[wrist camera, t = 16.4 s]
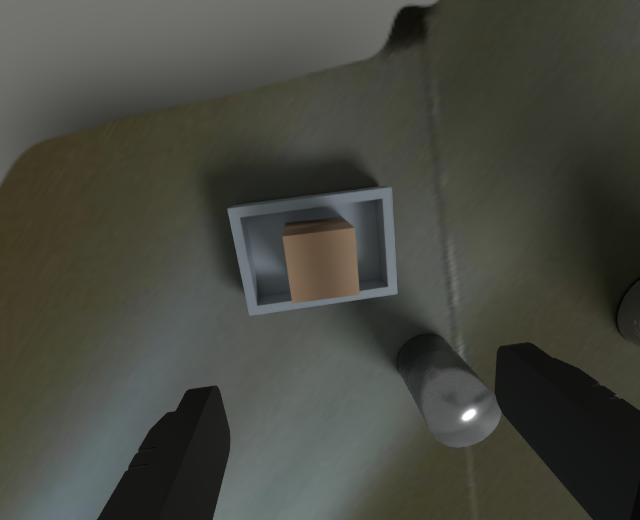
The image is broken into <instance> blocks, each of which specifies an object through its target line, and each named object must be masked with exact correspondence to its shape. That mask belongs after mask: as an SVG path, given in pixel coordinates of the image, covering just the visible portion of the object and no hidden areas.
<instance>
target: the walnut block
mask: <svg viewBox="0 0 640 520" xmlns="http://www.w3.org/2000/svg"><path fill="white" fill-rule="evenodd" d="M283 243H284V250H285V257H286V264H287V271H288V278H289V285H290V292H291V298H292V303H300V302H307V301H315V300H322V299H330V298H338V297H345V296H353V295H360V291H359V278H358V264H357V251H356V238H355V228H354V227H353V226H352V225H351V224H350V223H349V222H348V221H346V220H345V219H344V218H343V217H333V218H325V219H316V220H308V221H299V222H291V223H285V227H284V232H283Z"/></svg>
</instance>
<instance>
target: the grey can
mask: <svg viewBox="0 0 640 520" xmlns="http://www.w3.org/2000/svg"><path fill="white" fill-rule="evenodd" d="M397 366H398V370H399V372H400V374H401V376H402V378H403V380H404V382H405V383H406V385H407V387H408V389H409V391H410V393H411V395H412V397H413V399H414V400H415V402H416V404H417V406H418V408H419V410H420V412H421V414H422V416H423V417H424V419H425V421H426V423H427V425H428V427H429V429H430V431H431V432H432V434H433V436H434V437H435V438H436V439H437V440H438V441H439V442H440V443H442V444H444V445H447V446H451V447H466V446H470V445H473V444H476V443H478V442H480V441H482V440H483V439H485V438H486V437H487V436H488V435H490V434H491V433H492V431H493V430H494V429H495V428H496V426H497V424H498V422H499V420H500V417H501V410H500V408H499V406H498V403H497V400H496V397H495V394H494V393H493V392H492V391H491V390H490V389H489V388H488V386H487V385H486V384H485V383H484V382H483V381H482V380H481V379H480V378H479V377H478V375H477V374H476V373H475V372H474V371H473V370H472V369H471V368H470V367H469V366H468V365H467V363H466V362H465V361H464V360H463V359H462V358H461V357H460V356H459V355H458V354H457V352H456V351H455V350H454V349H453V348H452V347H451V346H450V345H449V344H448V343H447V342H446V341H445V340H444V339H443V338H441V337H439V336H436V335H431V334H427V335H420V336H417V337H415V338H413V339H411V340H410V341H408V342H407V343H406V344H405V345H404V346H403V348H402V349H401V351H400V353H399V355H398V359H397Z"/></svg>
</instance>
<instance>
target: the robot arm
mask: <svg viewBox="0 0 640 520" xmlns="http://www.w3.org/2000/svg"><path fill="white" fill-rule="evenodd" d="M617 322H618V327H619V330H620V332H621V334H622V335H623V336H624V338H625V339H626V340H628V341H630V342H632V343H634V344H636V345H638V346H640V280H639V281H637V282H636V283H635V284H634V285H633V286H632V287H631V288H630V290H629V291H628V292H627V294H626V295H625V297H624V298H623V300H622V303H621V305H620V308H619V311H618V320H617ZM495 397H496V400H497V403H498V406H499V408H500V410H501V411H502V413H503V414H504V416H505V417H506V418H507V419H508V420H509V422H510V423H511V424H512V425H513V426H514V427H515V429H516V430H517V431H518V432H519V433H520V434H521V436H522V437H523V438H524V439H525V440H526V441H527V443H528V444H529V445H530V446H531V447H532V449H533V450H534V451H535V452H536V453H537V454H538V456H539V457H540V458H541V459H542V460H543V461H544V463H545V464H546V465H547V466H548V467H549V469H550V470H551V471H552V472H553V473H554V474H555V476H556V477H557V478H558V479H559V480H560V481H561V483H562V484H563V485H564V486H565V487H566V488H567V490H568V491H569V492H570V493H571V494H572V496H573V497H574V498H575V499H576V500H577V501H578V503H579V504H580V505H581V506H582V507H583V508H584V510H585V511H586V512H587V513H588V514H589V516H590V517H591V518H592V519H593V520H640V411H639V410H638V409H637V408H635V407H634V406H632V405H631V404H629V403H628V402H626V401H625V400H624V399H619V398H618V396H617V395H616V394H615V393H613V392H612V391H611V390H609V389H608V388H606V387H605V386H601V385H600V383H599V382H598V381H596V380H595V379H593V378H592V377H590V376H589V375H588V374H586V373H585V372H583V371H582V370H580V369H579V368H577V367H574V366H572V365H570V364H567V363H565V362H563V361H561V360H558V359H556V358H552V357H550V356H549V355H548V354H546V353H545V352H544V351H542V350H541V349H539V348H538V347H537V346H535V345H534V344H532V343H529V342H526V343H519V344H512V345H505V346H500V347H499V348H498V351H497V360H496V377H495ZM138 450H139V451H138V453H136V454H135V456H134V458H133V459H132V461H131V463H130V465H129V466H128V467H129V468H128V471H125V473H124V475H123V476H122V478H121V480H120V482H119V483H118V485H117V487H116V488H115V490H114V492H113V494H112V495H111V497H110V499H109V500H108V502H107V504H106V505H105V507H104V509H103V511H102V512H101V514H100V516H99V517H98V519H97V520H213V516H214V512H215V508H216V504H217V500H218V496H219V492H220V488H221V484H222V480H223V476H224V472H225V468H226V464H227V460H228V456H229V451H230V430H229V425H228V421H227V417H226V413H225V409H224V405H223V401H222V397H221V393H220V390H219V388H218V387H217V386H209V387H202V388H195V389H189V390H187V391H186V393H185V394H184V396H183V398H182V400H181V402H180V404H179V406H178V408H177V409H176V411H174V412H167V413H166V414H165V415H164V416H163V417H162V418H161V419H160V420H159V421H158V422H157V423H156V424H155V425H154V426H153V427H152V428H151V429H150V430H149V432H148V434H147V436H146V437H145V439H144V441H143V442H142V444H141V446H140V448H139V449H138Z"/></svg>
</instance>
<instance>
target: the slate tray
mask: <svg viewBox="0 0 640 520" xmlns="http://www.w3.org/2000/svg"><path fill="white" fill-rule="evenodd" d="M227 210H228V215H229V220H230V225H231V229H232V234H233V239H234V244H235V249H236V253H237V258H238V263H239V268H240V273H241V277H242V282H243V287H244V292H245V297H246V301H247V306H248V311H249V316H252V315H258V314H265V313H272V312H279V311H286V310H292V309H299V308H306V307H313V306H320V305H326V304H333V303H340V302H347V301H354V300H361V299H367V298H374V297H381V296H388V295H395V294H398V293H397V274H396V256H395V237H394V219H393V200H392V187H387V186H376V187H369V188H361V189H353V190H346V191H338V192H330V193H323V194H315V195H308V196H300V197H292V198H285V199H277V200H269V201H262V202H254V203H247V204H239V205H234V206H232V207H230V208H228V209H227ZM333 217H343V218H344V219H345V220H346V221H348V222H349V223H350V224H351V225H352V226H353V227H354V228H355V238H356V251H357V264H358V278H359V291H360V295H353V296H345V297H338V298H330V299H322V300H315V301H307V302H300V303H292V298H291V292H290V285H289V278H288V271H287V264H286V257H285V250H284V243H283V232H284V227H285V223H291V222H299V221H308V220H316V219H325V218H333Z"/></svg>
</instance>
